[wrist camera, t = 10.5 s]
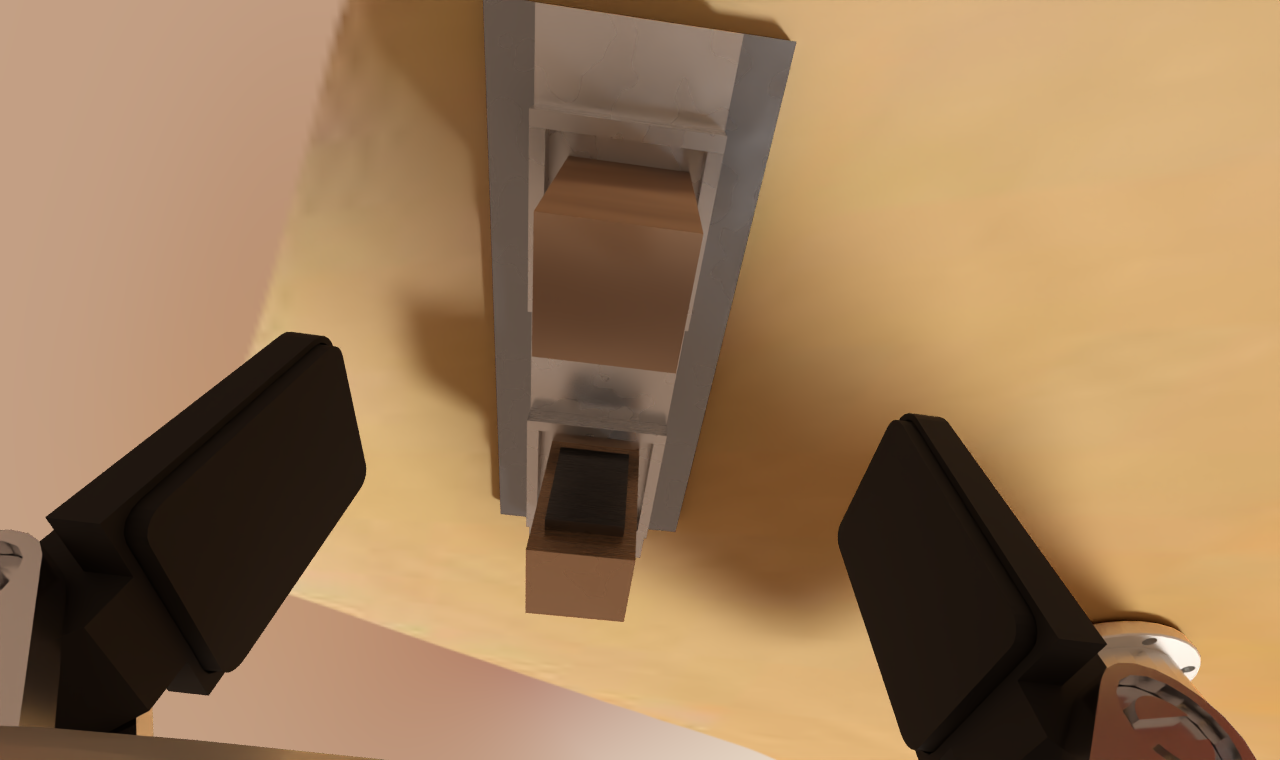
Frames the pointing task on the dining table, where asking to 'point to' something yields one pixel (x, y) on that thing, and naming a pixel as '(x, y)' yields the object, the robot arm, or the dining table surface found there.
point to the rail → (518, 178)
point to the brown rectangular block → (614, 264)
